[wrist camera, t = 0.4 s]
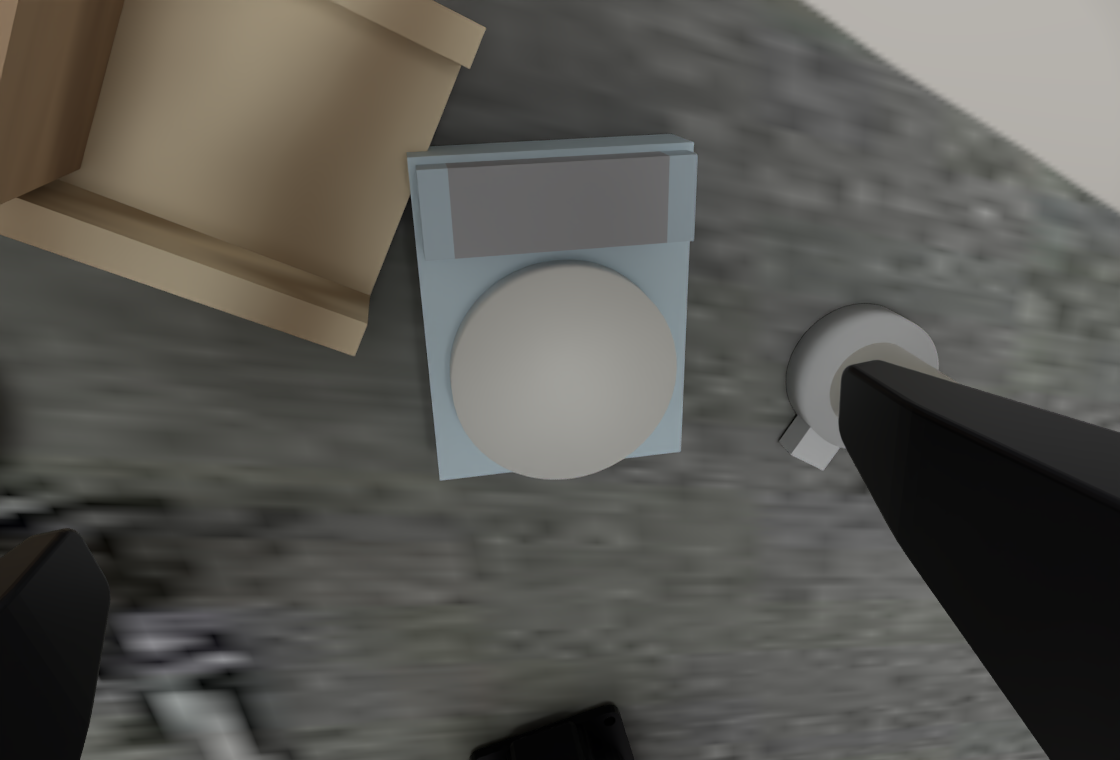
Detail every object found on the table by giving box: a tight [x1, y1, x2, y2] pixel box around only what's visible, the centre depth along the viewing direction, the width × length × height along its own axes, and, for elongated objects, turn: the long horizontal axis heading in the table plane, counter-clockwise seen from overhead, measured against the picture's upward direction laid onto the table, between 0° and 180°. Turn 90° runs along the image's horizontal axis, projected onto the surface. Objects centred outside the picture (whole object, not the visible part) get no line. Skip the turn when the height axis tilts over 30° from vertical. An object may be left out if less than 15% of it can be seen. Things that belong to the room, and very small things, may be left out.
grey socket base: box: [406, 134, 698, 481], centre depth 24 cm, size 10×8×3 cm
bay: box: [0, 0, 486, 356], centre depth 19 cm, size 16×9×4 cm, turn 65°
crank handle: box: [779, 304, 959, 470], centre depth 24 cm, size 6×5×12 cm
